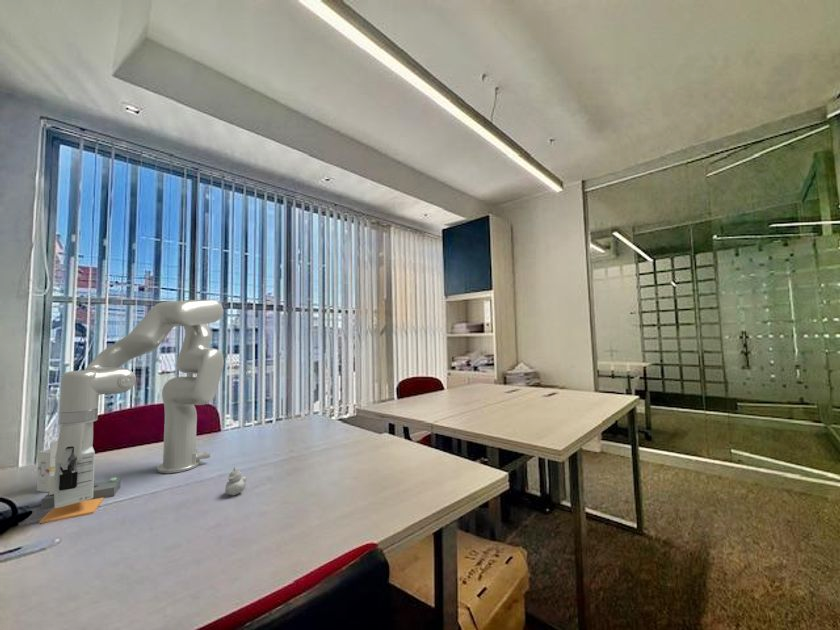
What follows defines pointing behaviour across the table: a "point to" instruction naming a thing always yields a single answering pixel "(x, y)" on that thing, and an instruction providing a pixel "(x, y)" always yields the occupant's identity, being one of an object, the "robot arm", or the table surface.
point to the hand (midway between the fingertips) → (74, 482)
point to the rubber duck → (235, 483)
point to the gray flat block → (99, 491)
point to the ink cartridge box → (46, 467)
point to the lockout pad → (72, 510)
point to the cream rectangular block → (51, 484)
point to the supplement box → (83, 481)
